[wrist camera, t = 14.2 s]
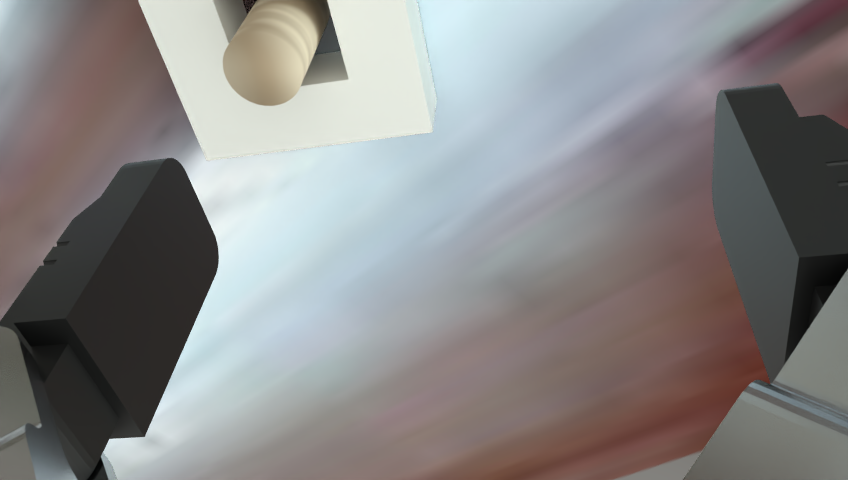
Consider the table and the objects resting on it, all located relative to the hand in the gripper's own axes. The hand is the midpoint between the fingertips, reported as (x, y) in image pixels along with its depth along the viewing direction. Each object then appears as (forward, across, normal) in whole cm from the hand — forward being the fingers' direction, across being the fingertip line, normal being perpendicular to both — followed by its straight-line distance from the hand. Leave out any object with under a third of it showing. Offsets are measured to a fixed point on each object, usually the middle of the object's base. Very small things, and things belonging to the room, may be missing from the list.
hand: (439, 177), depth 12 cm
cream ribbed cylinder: (+33, +12, +9) cm, 36 cm away
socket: (+33, +12, +9) cm, 36 cm away
